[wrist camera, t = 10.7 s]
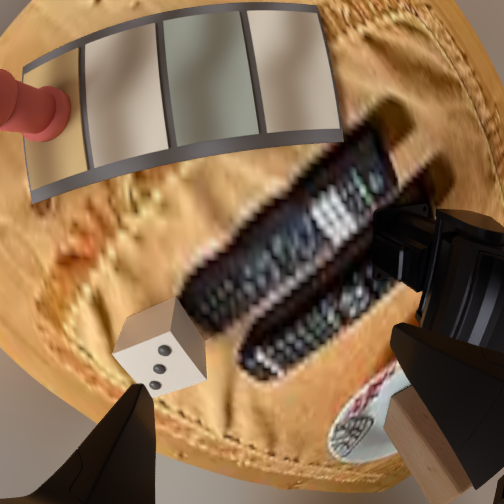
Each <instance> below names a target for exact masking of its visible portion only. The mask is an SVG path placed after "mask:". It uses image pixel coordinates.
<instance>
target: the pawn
mask: <svg viewBox="0 0 504 504" xmlns="http://www.w3.org/2000/svg"><path fill="white" fill-rule="evenodd" d="M70 115H71V101H70V98H69V96H68V95H67V94H66V93H65V92H63V91H61V90H59V89H57V88H55V87H53V86H43V87H41V88H39V89H38V88H35V87H33V86H30V85H27V84H25V83H22V82H19V81H17V80H15V79H14V77H13V76H12V74H10V73H9V72H8V71H6V70H3V69H0V131H12V132H22V134H23V136H24V137H25V138H26V139H28V140H30V141H39V142H48V141H51V140H53V139H55V138H56V137H58V136H59V135H60V134H61V133H62V131H63V130H64V129H65V127H66V125H67V123H68V121H69V118H70Z"/></svg>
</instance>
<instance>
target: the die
mask: <svg viewBox="0 0 504 504" xmlns="http://www.w3.org/2000/svg"><path fill="white" fill-rule="evenodd" d="M112 355H113V356H114V357H115V358H116V360H117V361H118V362H119V363H120V364H121V366H122V367H123V368H124V369H125V370H126V371H127V372H128V374H129V375H130V376H131V377H132V378H133V379H134V380H135V381H136V382H137V383H143V384H144V385H145V386H146V388H147V390H148V392H149V393H150V395H151V397H152V398H154V397H158V396H161V395H164V394H167V393H171V392H174V391H177V390H180V389H183V388H186V387H189V386H192V385H195V384H198V383H201V382H203V381H206V380H207V373H206V353H205V341H204V339H203V338H202V336H201V335H200V333H199V332H198V330H197V328H196V327H195V325H194V324H193V322H192V321H191V319H190V318H189V316H188V315H187V313H186V311H185V310H184V308H183V307H182V305H181V303H180V302H179V300H178V299H177V297H176V296H175V297H172V298H170V299H168V300H166V301H163V302H161V303H159V304H157V305H155V306H152V307H150V308H148V309H146V310H143V311H141V312H139V313H137V314H135V315H132V316H130V317H128V318H126V320H125V323H124V325H123V328H122V330H121V332H120V335H119V337H118V340H117V343H116V345H115V348H114V350H113V353H112Z"/></svg>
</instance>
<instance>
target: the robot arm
mask: <svg viewBox="0 0 504 504" xmlns="http://www.w3.org/2000/svg"><path fill="white" fill-rule="evenodd" d="M423 207H424V209H423ZM379 214H380V217H379V218H378V215H379ZM435 216H436V220H434V219H431V218H428V206H427V204H424V203H419V204H411V205H404V206H397V207H391V208H384V209H377V210H376V211H375V212H374V214H373V248H372V263H373V272H372V276H373V278H374V279H375V280H377V281H379V280H383V279H386V278H390V277H393V278H394V279H395V280H397V281H398V282H403V283H404V284H406V285H407V286H408V287H410V288H411V289H413V290H414V291H415V292H420V291H422V296H421V300H420V304H419V308H418V310H417V311H416V314H415V318H416V320H417V321H418V323H419V325H420V327H421V328H419V327H416V326H413V325H410V324H407V323H404V322H402V323H399V324H396V325H394V327H393V329H392V334H391V340H390V346H391V349H392V351H393V353H394V354H395V356H396V358H397V360H398V362H399V364H400V366H401V368H402V369H403V371H404V373H405V375H406V377H407V378H408V380H409V382H410V383H411V385H412V386H413V388H414V389H415V391H416V392H417V394H418V395H419V397H420V398H421V400H422V401H423V403H424V404H425V406H426V407H427V409H428V410H429V412H430V414H431V415H432V417H433V418H434V420H435V422H436V423H437V425H438V426H439V428H440V430H441V431H442V433H443V434H444V436H445V438H446V439H447V441H448V443H449V444H450V446H451V448H452V449H453V451H454V453H456V454H455V455H456V457H457V458H458V460H459V462H460V463H461V465H462V467H463V469H464V471H465V472H466V474H467V476H468V478H469V480H470V481H471V483H472V485H473V487H474V489H475V490H477V489H478V488H479V487H481V486H482V485H483V484H485V483H486V482H487V481H488V480H489V479H490V478H492V477H493V476H494V475H495V474H496V473H497V472H499V471H500V470H501V469H502V468H503V467H504V227H503V226H502V225H500V224H499V223H498V222H497V221H495V220H494V219H493V218H492V217H489V216H486V215H483V214H479V213H475V212H472V211H465V210H449V209H436V215H435ZM377 274H379V275H378V276H377ZM155 459H156V432H155V417H154V402H153V399H152V397H151V395H150V393H149V392H148V390H147V388H146V386H145V385H144V384H143V383H138V384H132V385H131V386H130V387H129V388H128V389H127V391H126V392H125V393H124V394H123V395H122V396H121V398H120V399H119V400H118V401H117V402H116V403H115V405H114V406H113V407H112V408H111V409H110V410H109V412H108V413H107V414H106V415H105V416H104V418H103V419H102V420H101V421H100V422H99V423H98V425H97V426H96V427H95V428H94V429H93V430H92V432H91V433H90V434H89V435H88V436H87V438H86V439H85V440H84V441H83V442H82V443H81V445H80V446H79V447H78V449H76V451H75V452H74V453H73V454H72V455H71V456H70V457H69V459H68V460H67V461H66V462H65V463H64V464H63V465H62V466H61V467H60V468H59V469H58V470H57V471H56V472H55V473H54V474H53V475H52V476H51V477H50V478H49V479H48V480H47V481H46V482H44V483H43V484H42V485H41V486H40V487H39V488H38V489H37V490H36V491H34V492H33V493H31V494H29V495H27V496H24V497H16V498H6V499H0V504H155ZM493 504H504V475H503V476H502V477H501V478H500V479H499V480H498V483H497V488H496V493H495V497H494V502H493Z"/></svg>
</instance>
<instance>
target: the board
mask: <svg viewBox="0 0 504 504" xmlns="http://www.w3.org/2000/svg"><path fill="white" fill-rule="evenodd" d="M22 83H25V84H27V85H30V86H33V87H35V88H38V89H39V88H41V87H43V86H53V87H55V88H57V89H59V90H61V91H63V92H65V93H66V94H67V95H68V96H69V98H70V101H71V115H70V118H69V121H68V123H67V125H66V127H65V129H64V130H63V131H62V133H61V134H60V135H59V136H58V137H56V138H55V139H53V140H51V141H48V142H39V141H30V140H28V139H26V138H25V137H24V136H23V142H24V152H25V161H26V168H27V175H28V181H29V187H30V192H31V198H32V202H33V204H34V203H37V202H40V201H43V200H45V199H48V198H51V197H54V196H56V195H59V194H62V193H65V192H68V191H71V190H74V189H77V188H80V187H83V186H87V185H90V184H93V183H96V182H100V181H103V180H107V179H110V178H114V177H118V176H121V175H125V174H129V173H133V172H137V171H141V170H145V169H149V168H153V167H158V166H162V165H167V164H171V163H176V162H181V161H186V160H191V159H196V158H202V157H208V156H213V155H219V154H226V153H232V152H239V151H246V150H254V149H262V148H270V147H279V146H290V145H301V144H314V143H331V142H344V139H343V131H342V123H341V116H340V110H339V103H338V97H337V91H336V85H335V80H334V75H333V70H332V65H331V60H330V55H329V51H328V46H327V42H326V38H325V34H324V30H323V26H322V22H321V18H320V15H319V11H318V8H317V6H316V5H306V4H294V3H274V2H248V3H227V4H215V5H206V6H198V7H191V8H184V9H178V10H173V11H168V12H163V13H158V14H154V15H150V16H145V17H142V18H138V19H134V20H131V21H127V22H124V23H121V24H117V25H114V26H111V27H108V28H105V29H103V30H100V31H97V32H94V33H92V34H89V35H87V36H84V37H82V38H79V39H77V40H75V41H72V42H70V43H68V44H66V45H64V46H61V47H59V48H57V49H55V50H53V51H51V52H49V53H47V54H45V55H43V56H42V57H40V58H38V59H36V60H34V61H33V62H31V63H29V64H27V65H26V66H24V67H23V74H22Z"/></svg>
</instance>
